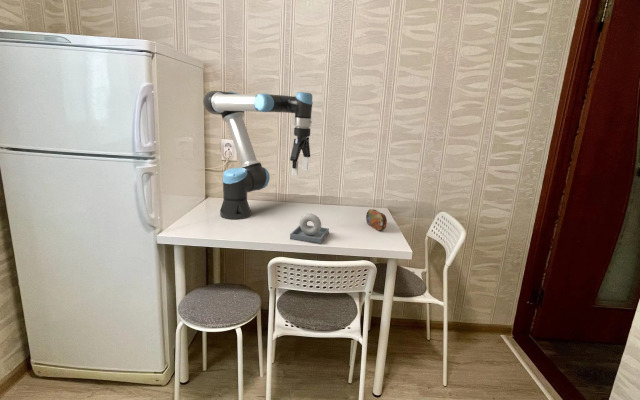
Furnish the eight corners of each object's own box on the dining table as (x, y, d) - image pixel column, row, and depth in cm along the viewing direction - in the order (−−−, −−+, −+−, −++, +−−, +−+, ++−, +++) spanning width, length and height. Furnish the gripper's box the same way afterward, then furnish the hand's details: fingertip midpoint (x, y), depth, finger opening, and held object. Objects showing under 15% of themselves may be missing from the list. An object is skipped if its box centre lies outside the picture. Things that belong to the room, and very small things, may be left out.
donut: (297, 234, 150) (298, 213, 148) (300, 232, 154) (301, 211, 151) (319, 238, 148) (320, 216, 145) (321, 235, 151) (323, 214, 149)
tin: (364, 222, 173) (366, 207, 171) (370, 222, 175) (371, 206, 172) (381, 233, 160) (383, 216, 158) (386, 232, 161) (388, 215, 159)
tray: (289, 239, 146) (290, 234, 146) (300, 229, 159) (300, 224, 159) (320, 244, 143) (320, 239, 142) (328, 233, 156) (328, 228, 155)
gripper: (300, 129, 144) (297, 178, 150) (318, 127, 167) (315, 169, 173) (284, 127, 146) (281, 176, 152) (304, 125, 169) (301, 167, 175)
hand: (299, 172), depth 163 cm, fingers open, 13 cm apart
